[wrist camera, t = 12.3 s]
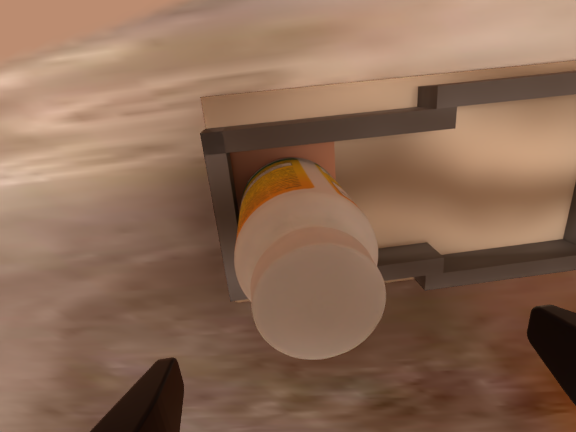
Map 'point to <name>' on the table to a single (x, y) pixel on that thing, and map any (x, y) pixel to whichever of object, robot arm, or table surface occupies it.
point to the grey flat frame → (420, 166)
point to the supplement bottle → (307, 261)
